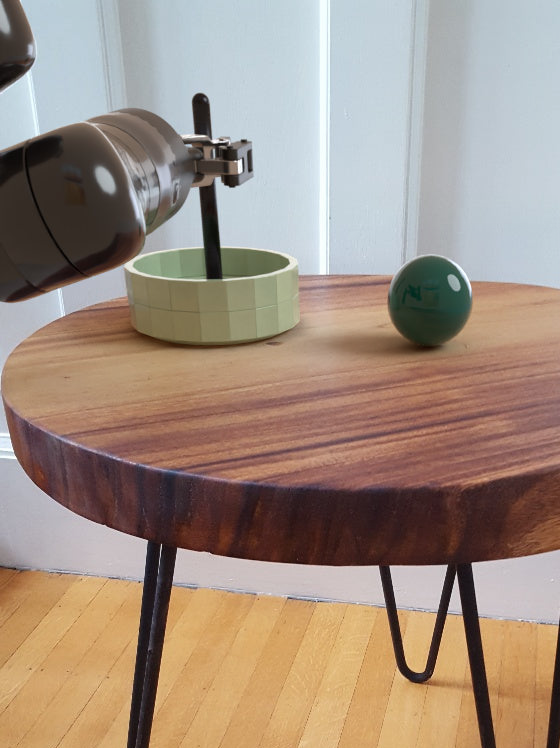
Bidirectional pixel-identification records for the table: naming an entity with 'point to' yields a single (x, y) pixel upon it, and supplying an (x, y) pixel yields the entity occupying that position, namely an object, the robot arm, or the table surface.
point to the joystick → (208, 194)
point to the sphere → (430, 300)
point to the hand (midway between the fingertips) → (175, 150)
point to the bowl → (213, 295)
